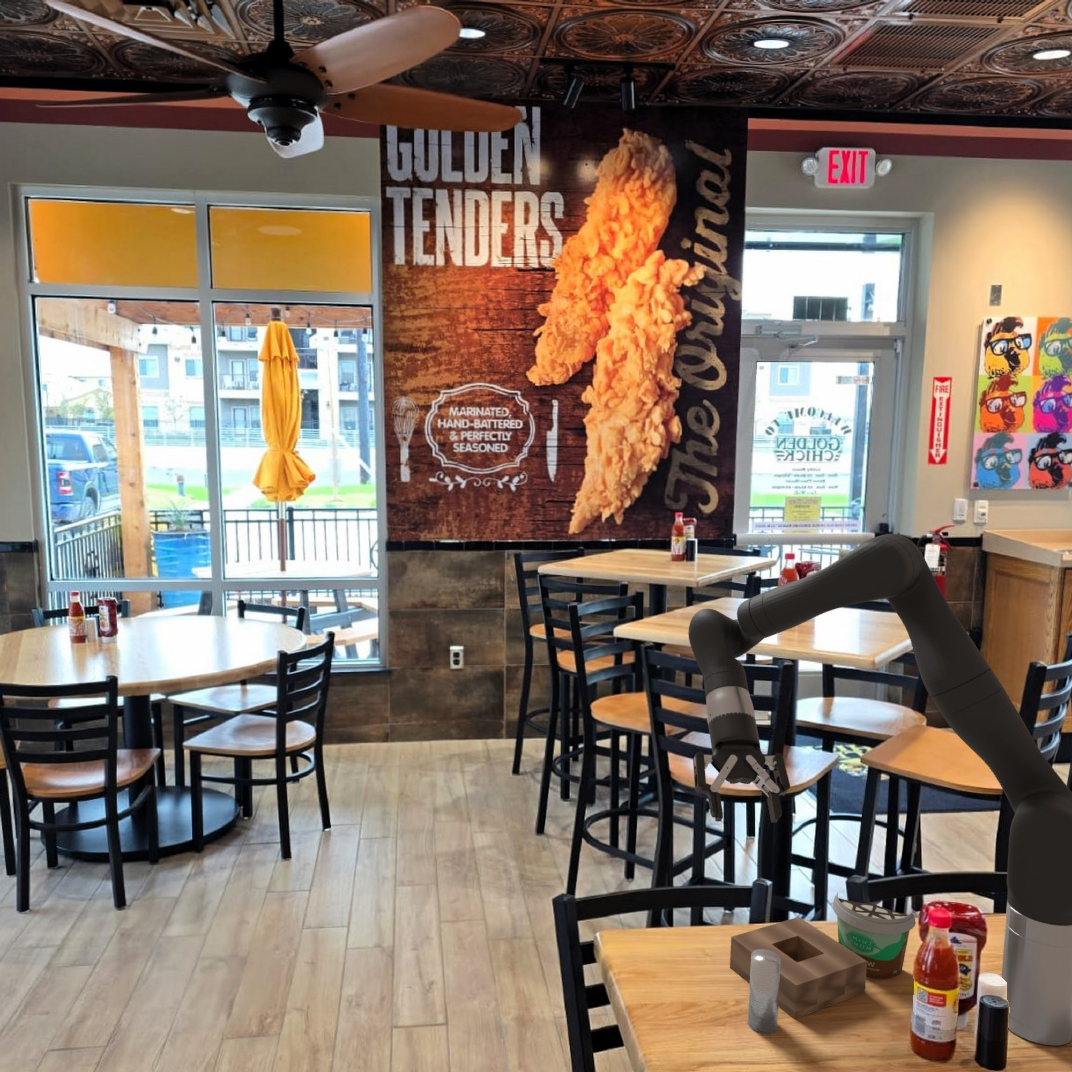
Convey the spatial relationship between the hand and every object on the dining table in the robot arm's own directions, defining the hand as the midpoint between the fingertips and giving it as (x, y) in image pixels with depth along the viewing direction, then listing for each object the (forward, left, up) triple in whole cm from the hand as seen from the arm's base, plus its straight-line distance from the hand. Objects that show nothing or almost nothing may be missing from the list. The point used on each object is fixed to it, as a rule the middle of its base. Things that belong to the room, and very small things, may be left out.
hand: (747, 820), depth 134 cm
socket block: (-7, +4, -25) cm, 26 cm away
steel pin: (+5, +10, -25) cm, 27 cm away
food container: (-19, +7, -25) cm, 33 cm away
